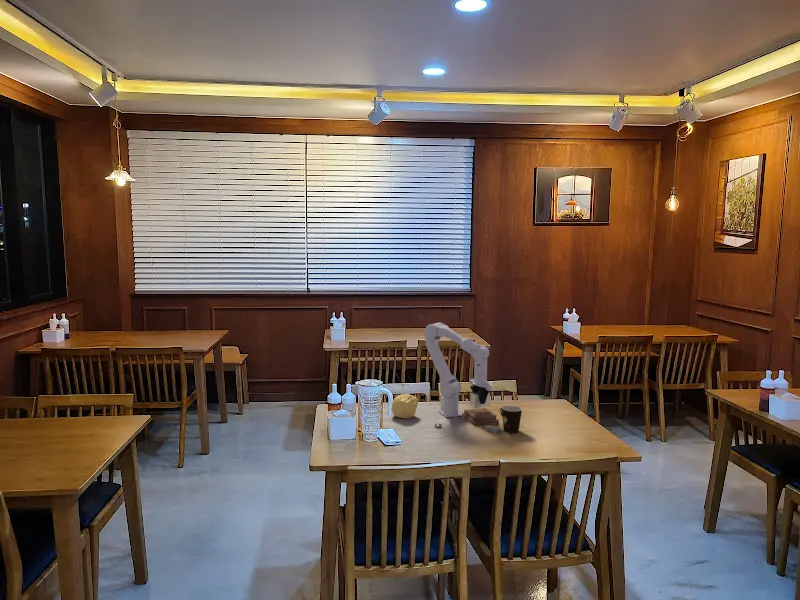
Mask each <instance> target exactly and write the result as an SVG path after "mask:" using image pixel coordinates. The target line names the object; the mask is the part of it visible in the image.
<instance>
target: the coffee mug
mask: <svg viewBox="0 0 800 600" xmlns="http://www.w3.org/2000/svg"><path fill="white" fill-rule="evenodd" d="M522 410H523V409H522V407H520V406H516V405H504V406H502V407H500V409H499V413H500V415H501V417H502V426H503V427H502V429H503V432H504V433H507V434H518V433H519V429H520V426H521V418H522V412H523V411H522Z"/></svg>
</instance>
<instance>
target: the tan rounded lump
mask: <svg viewBox="0 0 800 600" xmlns="http://www.w3.org/2000/svg"><path fill="white" fill-rule="evenodd" d="M392 402H393V403H392ZM392 402H391V405H392V408H391V409H390V410H391V411H392V414H393V416H395V417H396V418H400V419H404V420H405V419H410V418H413V417H414V416H415V415H416V411H417V409H418V404H419V399H418V398H417V397H416V396H415V395H413V394H412V395H411V394H409V393H407V392H406V393H404V394H399V395H397V396H395V398H393V400H392Z"/></svg>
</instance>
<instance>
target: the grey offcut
mask: <svg viewBox="0 0 800 600" xmlns="http://www.w3.org/2000/svg"><path fill="white" fill-rule="evenodd" d="M501 430H502V429H501V427H499V426H496V425H493V424H488V425H484V431H488V432H491V433H494V434H499V433H501Z"/></svg>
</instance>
